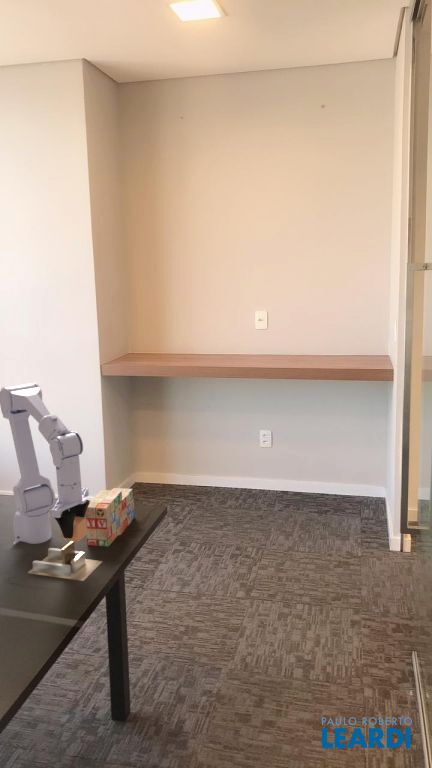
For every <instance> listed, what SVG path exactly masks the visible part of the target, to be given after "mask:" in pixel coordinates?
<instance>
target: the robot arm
mask: <svg viewBox="0 0 432 768" xmlns="http://www.w3.org/2000/svg"><path fill="white" fill-rule="evenodd" d="M0 410H1V414H2V417H3V419H7V420H8V422H9V425H10V431H11V434H12V440H13V445H14V449H15V455H16V458H17V459H16V460H17V462H18V463H17V464H18V467H19V472H20V478H19V480H18V481H17V482H16V484H15V485H14V486H13V489H12V492H13V505H14V508H15V511H16V512H15V514H14V516H13V521H12V522H13V532H14V542H13V545H16V544H18V543H19V542H24V543H27V544H31V545H32V544H33V545H34V544H35V545H38V544H42V543H45V542H47V541H50V539H52V526H51V518H53V519H54V520H55V521H56V522H57V524H58V526H59V528H60V530H61V532H62V533H63V536H64V538H72V537H73V524H74V518H75V516H76V517H85V513H86V510H87V508H88V506H89V502H90V500H88V499H87V497H88V496H89V494H90V493H89V488H86V487H82V478H81V477H82V476H81V464H80V463H81V462H80V456H79V455H82V454H83V452H84V444H83V440H82V439H83V438H82V437H81V435H80V434H79V432H78V431H74V430H69V429H68V427H67V426H66V425H65V423H63V421H62V420H61V419H60V417H59V416H57V415H55V414H51V413H50V411H49V409H48V407H46V404H45V403H44V402H43V392H42V389H41V386H40V385H39V384H38V383H37V382H35V381H34V382H31V383H24V384H20V385H19V384H18V385H14V386H13V385H12V386H8V387H6V386H5V387H2V388H0ZM30 416H31V418H32V417H33V419H34V420H35V421H36V422H37V423H38V426H37V427H38V431H39V432H40V434H41V436H43V438H44V439H45V440H46V442H47V443H48V444H49V453H50V455H51V457H52V463H53V465H54V466H55V473H56V474H55V475H56V483H57V484H56V485H57V496H58V497H57V498H58V499H57V500H56V494H55V490H54V488H53V487H52V483H51V480H50V479H49V478H48V477H46V476H43V475H42V474H40V468H39V464H38V459H37V455H36V450H35V445H34V444H35V443H34V440H33V436H32V430H31V427H30V422H29V418H30ZM85 497H86V498H85ZM55 501H56V503H55ZM52 506H54V507H53V508H52ZM50 510H51V513H50ZM50 514H51V515H50ZM62 533H61V534H62ZM63 536H62V537H63Z"/></svg>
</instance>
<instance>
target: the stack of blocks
mask: <svg viewBox="0 0 432 768" xmlns="http://www.w3.org/2000/svg"><path fill="white" fill-rule="evenodd" d="M133 493H134V492H133V488H125V487H124V488H119V487H113V488H112V489H110V490H107V489H100V491H99V492H98V493H97V494H96V495H95V496H94V497H93V498H92V499H91V500H89V506H88V508H87V510H86V513H85V518H86V523H87V535H86V544H87V545H86V546H94V547H95V546H97V547H110V546H111V544H112V543H113V542H114V541H115V540H116V538H117V537H118V536H121V535H122V534H123V533H124V531H125V530H126V529H127V528H128V526H129V525H130V524H131V523H132V521H134V520H135V518H136V517H135V514H136V513H135V499H134V494H133Z"/></svg>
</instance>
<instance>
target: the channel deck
mask: <svg viewBox="0 0 432 768" xmlns="http://www.w3.org/2000/svg"><path fill="white" fill-rule="evenodd" d="M61 549H62V548H57V547H56V548H54V547H49V548H48V549H47V556H46V557H45V558H43V559H42V560H33V561H32V568H31V569H30V570H29V571H28V572H27V574H33V575H37V576H38V575H39V576H47V577H51V578H52V577H53V578H61V579H66V580H67V579H68V580H72V581H80V582H83V581H84V582H85V580H86V579H87V578H88V577H89V576H90V575H91V574H92V573H93V572H94V571H95V570H96V569H97V568H98V567H99V566H100V565H101V564H103V560H95V559H90V558H89V559H88V558H85V564H84V565H82V566H81V567H80V568H79V569H78V570H77V571H76V572H71V566H70V565H66V564H62V554H61ZM80 552H81V551H79V550H75V557H76V556H77V555H78V554H79V553H80Z"/></svg>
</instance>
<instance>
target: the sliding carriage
mask: <svg viewBox="0 0 432 768" xmlns="http://www.w3.org/2000/svg"><path fill="white" fill-rule="evenodd" d="M60 549H61V554H62V564H66V565H70V566H71V572H76V571H77V570H78V569H79V568H80V567H81V566H82V565H84V564H85V559H86V552H85V551H80V553H79V554H78V555H77V556H76V557H75V551H76V548H75V541H70V540H69V542H68V543H67V544H66V545H65V546H63V547H62V548H60Z"/></svg>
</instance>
